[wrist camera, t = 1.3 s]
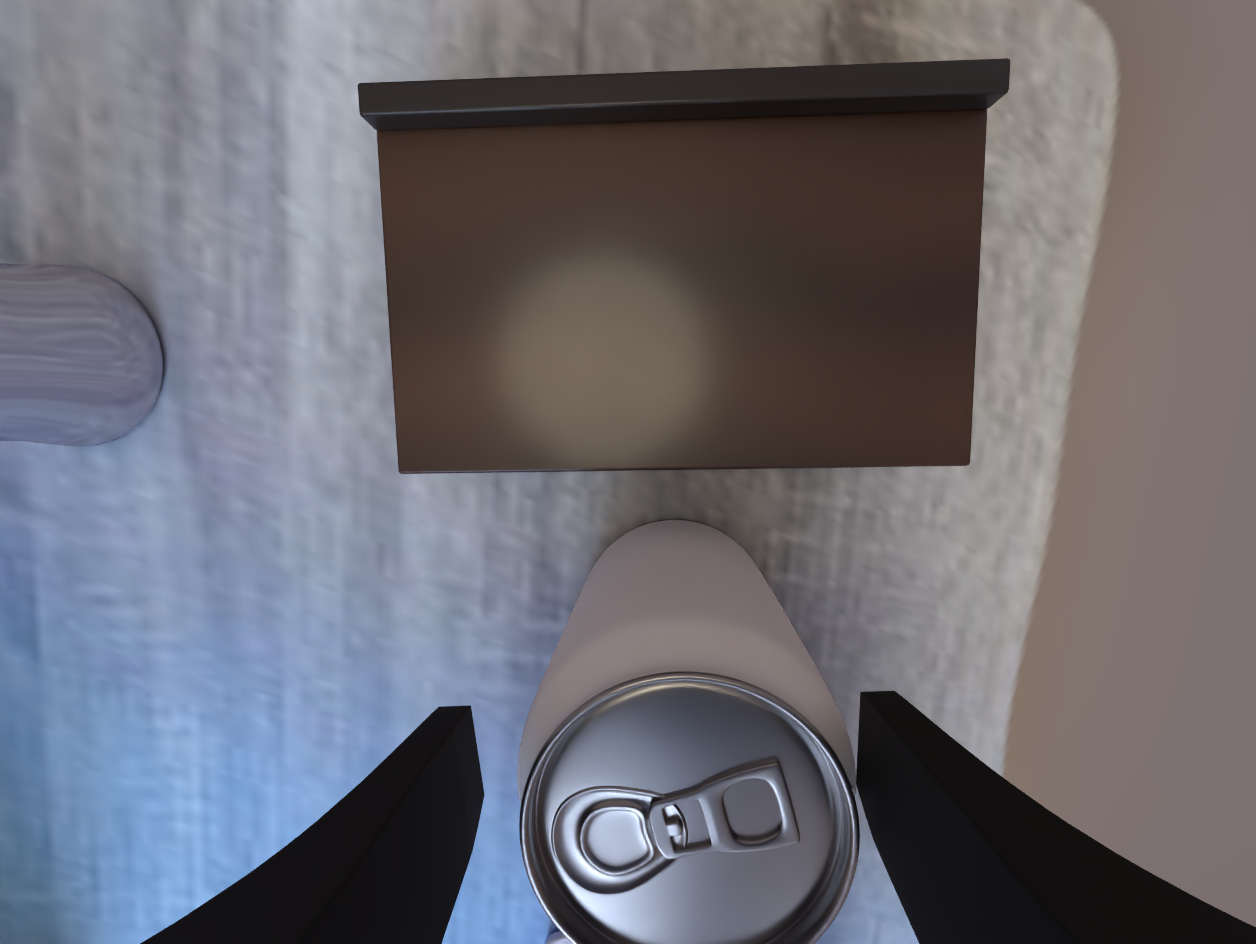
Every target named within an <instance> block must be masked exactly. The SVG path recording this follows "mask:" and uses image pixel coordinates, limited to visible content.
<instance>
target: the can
mask: <svg viewBox="0 0 1256 944" xmlns="http://www.w3.org/2000/svg"><path fill="white" fill-rule="evenodd" d="M517 781H518V793H519V800H520V805H521V809H520V824H519V829H520V844H521V851H522V857H523V861H524V865H525V869H526V872H527V875H528V878H529V881H530V883H531V886H532V888H533V890H534V893H535V895H536V897H537V899H538V900H539V902H540V904H541V906H542V907H543V909H544V911H545V912H546V914H547V915H548V917H549V918H550V919H551V921H552V922H553V923H554V925H555V926H556V927H557V928H558V929H559V930H560V932H561V933H562V934H563V935H564V936H565V937H566V938H567V939H568V940H569V941H570V942H571V943H572V944H814V943H815V942H816V941H817V940H818V939H819V938H820V937H821V936H822V934H823V933H824V932H825V931H826V930H827V928H828V927H829V926H830V925H831V923H832V922H833V920H834V919H835V917H836V916H837V914H838V913H839V911H840V909H841V907H842V905H843V903H844V901H845V899H846V897H847V895H848V893H849V890H850V887H851V885H852V881H853V878H854V875H855V871H856V866H857V861H858V854H859V841H860V831H859V818H858V811H857V806H856V801H855V793H856V772H855V762H854V756H853V751H852V746H851V742H850V739H849V736H848V733H847V730H846V727H845V724H844V721H843V718H842V716H841V714H840V711H839V709H838V707H837V705H836V703H835V701H834V699H833V697H832V695H831V693H830V691H829V689H828V688H827V686H826V684H825V682H824V680H823V678H822V677H821V675H820V673H819V671H818V669H817V668H816V666H815V664H814V662H813V661H812V659H811V657H810V655H809V654H808V652H807V650H806V648H805V647H804V645H803V643H802V641H801V640H800V638H799V636H798V635H797V633H796V631H795V629H794V628H793V626H792V624H791V622H790V621H789V619H788V617H787V616H786V614H785V612H784V610H783V609H782V607H781V605H780V604H779V602H778V600H777V599H776V597H775V595H774V593H773V592H772V590H771V588H770V587H769V585H768V583H767V582H766V580H765V578H764V577H763V575H762V573H761V572H760V570H759V569H758V567H757V566H756V564H755V563H754V561H753V560H752V558H751V557H750V556H749V555H748V554H747V552H746V551H745V550H744V549H743V548H742V547H741V546H740V545H739V544H737V543H736V542H735V541H734V540H733V539H731V538H730V537H728V536H727V535H725V534H724V533H722V532H720V531H718V530H716V529H714V528H712V527H709V526H707V525H704V524H700V523H697V522H692V521H685V520H664V521H657V522H653V523H649V524H645V525H643V526H640V527H637V528H635V529H633V530H631V531H629V532H627V533H626V534H624V535H623V536H621V537H620V538H618V539H617V540H616V541H614V542H613V543H612V544H611V545H610V546H609V547H608V548H607V549H606V550H605V551H604V552H603V554H602V555H601V556H600V557H599V559H598V560H597V562H596V563H595V565H594V566H593V568H592V570H591V572H590V574H589V576H588V578H587V580H586V582H585V584H584V586H583V588H582V591H581V593H580V595H579V597H578V599H577V602H576V604H575V606H574V608H573V610H572V613H571V615H570V617H569V619H568V622H567V624H566V626H565V629H564V631H563V633H562V635H561V638H560V640H559V642H558V644H557V647H556V649H555V651H554V654H553V656H552V658H551V661H550V663H549V665H548V667H547V670H546V672H545V674H544V677H543V679H542V682H541V684H540V686H539V689H538V691H537V694H536V696H535V698H534V701H533V704H532V706H531V709H530V712H529V714H528V717H527V720H526V723H525V727H524V730H523V735H522V739H521V744H520V749H519V756H518V768H517Z"/></svg>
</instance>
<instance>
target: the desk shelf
mask: <svg viewBox="0 0 1256 944" xmlns="http://www.w3.org/2000/svg"><path fill="white" fill-rule="evenodd" d="M1009 76H1010V59H982V60H956V61H929V62H903V63H877V64H851V65H824V66H798V67H772V68H746V69H720V70H693V71H667V72H641V73H615V74H588V75H562V76H536V77H510V78H483V79H457V80H431V81H405V82H378V83H360V84H358V95H359V110H360V115H361V116H362V117H363V118H364V119H365V120H366V121H367V122H368V123H369V124H370V125H371V126H372V127H373V128H374V129H376V130H377V142H378V158H379V173H380V189H381V204H382V220H383V235H384V251H385V266H386V282H387V297H388V313H389V328H390V344H391V359H392V375H393V390H394V406H395V421H396V437H397V452H398V468H399V473H401V474H422V473H492V472H562V471H632V470H702V469H772V468H842V467H912V466H967V465H969V464H970V451H971V431H972V410H973V390H974V369H975V349H976V328H977V308H978V287H979V267H980V246H981V226H982V205H983V185H984V164H985V144H986V123H987V108H989V107H991V106H992V105H993V104H994V103H996V102H997V101H998V100H999V99H1000V98H1001V97H1003V96H1004V95H1005V94H1006V93H1007V92H1008V90H1009Z"/></svg>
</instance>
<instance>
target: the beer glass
mask: <svg viewBox="0 0 1256 944" xmlns="http://www.w3.org/2000/svg"><path fill="white" fill-rule="evenodd" d="M162 375H163V357H162V349H161V345H160V341H159V337H158V334H157V331H156V329H155V327H154V324H153V322H152V320H151V319H150V317H149V315H148V314H147V312H146V310H145V309H144V308H143V306H142V305H141V304H140V302H139V301H138V300H137V299H136V298H135V297H134V296H133V295H132V294H131V293H130V292H129V291H128V290H127V289H125V288H124V287H123V286H121V285H120V284H119V283H117V282H115V281H114V280H112V279H110V278H108V277H106V276H104V275H102V274H100V273H98V272H95V271H92V270H89V269H85V268H81V267H75V266H68V265H46V264H4V263H0V441H25V442H34V443H44V444H54V445H64V446H92V445H99V444H104V443H107V442H110V441H113V440H116V439H118V438H120V437H122V436H124V435H126V434H127V433H129V432H130V431H132V430H133V429H134V428H136V427H137V426H138V425H139V424H140V423H141V422H142V421H143V420H144V419H145V417H146V416H147V415H148V413H149V412H150V410H151V409H152V407H153V405H154V403H155V401H156V399H157V396H158V393H159V390H160V387H161V382H162Z"/></svg>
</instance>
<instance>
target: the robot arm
mask: <svg viewBox="0 0 1256 944" xmlns="http://www.w3.org/2000/svg"><path fill="white" fill-rule="evenodd" d="M856 785H857V789H858V792H859V795H860V799H861V802H862V805H863V808H864V812H865V815H866V818H867V821H868V824H869V827H870V830H871V834H872V837H873V840H874V842H875V844H876V847H877V849H878V851H879V854H880V856H881V858H882V861H883V863H884V865H885V867H886V870H887V872H888V874H889V877H890V879H891V881H892V883H893V886H894V888H895V890H896V892H897V895H898V897H899V899H900V901H901V904H902V906H903V908H904V910H905V912H906V915H907V917H908V919H909V921H910V924H911V926H912V928H913V930H914V933H915V935H916V937H917V939H918V941H919V944H1256V927H1254V926H1252V925H1250V924H1247V923H1245V922H1243V921H1241V920H1239V919H1237V918H1235V917H1233V916H1231V915H1229V914H1227V913H1225V912H1223V911H1221V910H1219V909H1217V908H1215V907H1213V906H1211V905H1209V904H1207V903H1205V902H1203V901H1201V900H1200V899H1198V898H1196V897H1194V896H1192V895H1190V894H1188V893H1186V892H1185V891H1183V890H1181V889H1179V888H1177V887H1175V886H1173V885H1172V884H1170V883H1168V882H1166V881H1164V880H1163V879H1161V878H1159V877H1157V876H1155V875H1153V874H1152V873H1150V872H1148V871H1146V870H1144V869H1143V868H1141V867H1139V866H1137V865H1136V864H1134V863H1132V862H1130V861H1129V860H1127V859H1125V858H1123V857H1122V856H1120V855H1118V854H1116V853H1115V852H1113V851H1112V850H1110V849H1109V848H1107V847H1105V846H1104V845H1102V844H1100V843H1099V842H1097V841H1096V840H1094V839H1092V838H1091V837H1089V836H1088V835H1086V834H1084V833H1083V832H1081V831H1080V830H1078V829H1076V828H1075V827H1073V826H1072V825H1070V824H1068V823H1067V822H1065V821H1064V820H1062V819H1061V818H1059V817H1058V816H1056V815H1055V814H1053V813H1052V812H1050V811H1049V810H1047V809H1046V808H1044V807H1043V806H1042V805H1040V804H1039V803H1038V802H1036V801H1035V800H1033V799H1032V798H1031V797H1029V796H1028V795H1026V794H1025V793H1023V792H1022V791H1020V790H1019V789H1018V788H1016V787H1015V786H1014V785H1012V784H1010V783H1009V782H1008V781H1007V780H1005V779H1004V778H1003V777H1001V776H1000V775H999V774H997V773H996V772H995V771H993V770H992V769H991V768H989V767H988V766H987V765H986V764H984V763H983V762H982V761H980V760H979V759H978V758H977V757H975V756H974V755H973V754H972V753H970V752H969V751H968V750H966V749H965V748H964V747H963V746H961V745H960V744H959V743H958V742H956V741H955V740H954V739H953V738H952V737H950V736H949V735H948V734H947V733H945V732H944V731H943V730H942V729H941V728H939V727H938V726H937V725H936V724H934V723H933V722H932V721H931V720H930V719H928V718H927V717H926V716H925V715H924V714H922V713H921V712H920V711H919V710H918V709H916V708H915V707H914V706H913V705H912V704H910V703H909V702H908V701H907V700H905V699H904V698H903V697H902V696H900V695H899V694H898V693H897V692H895V691H874V692H861V694H860V714H859V734H858V754H857V775H856ZM483 799H484V789H483V783H482V776H481V770H480V763H479V757H478V750H477V743H476V737H475V730H474V724H473V717H472V711H471V706H447V707H438V708H437V709H436V710H435V711H434V712H433V713H432V714H431V715H430V716H429V717H428V718H427V719H426V720H425V721H424V722H423V723H422V724H421V725H420V726H419V727H418V728H417V729H415V730H414V731H413V732H412V733H411V734H410V735H409V736H408V737H407V738H406V739H405V740H404V741H403V742H402V743H401V744H400V745H399V746H398V747H397V748H396V749H395V750H394V751H393V752H392V753H391V754H390V755H389V756H388V757H387V758H386V759H385V760H384V761H383V762H382V763H381V764H380V765H379V766H378V767H376V768H375V769H374V770H373V771H372V772H371V773H370V774H369V775H368V776H367V777H366V778H365V779H364V780H363V781H362V782H361V783H360V784H358V785H357V786H356V787H355V788H354V789H353V790H352V791H350V792H349V793H348V794H347V795H346V796H345V797H344V798H343V799H341V800H340V801H339V802H338V803H337V804H336V805H335V806H333V807H332V808H331V809H330V810H329V811H328V812H327V813H325V814H324V815H323V816H322V817H321V818H320V819H319V820H317V821H316V822H315V823H314V824H313V825H312V826H310V827H309V828H308V829H307V830H305V831H304V832H303V833H302V834H301V835H299V836H298V837H297V838H295V839H294V840H293V841H292V842H290V843H289V844H288V845H287V846H285V847H284V848H283V849H281V850H280V851H279V852H277V853H276V854H275V855H273V856H272V857H271V858H269V859H268V860H267V861H265V862H264V863H263V864H261V865H260V866H259V867H257V868H256V869H255V870H253V871H252V872H250V873H249V874H248V875H246V876H245V877H243V878H242V879H240V880H239V881H237V882H236V883H234V884H233V885H231V886H230V887H228V888H227V889H225V890H224V891H222V892H221V893H219V894H218V895H216V896H215V897H213V898H212V899H210V900H209V901H207V902H206V903H204V904H203V905H201V906H200V907H198V908H197V909H195V910H194V911H192V912H191V913H189V914H188V915H186V916H185V917H183V918H182V919H180V920H179V921H177V922H175V923H174V924H172V925H170V926H169V927H167V928H165V929H164V930H162V931H161V932H159V933H157V934H156V935H154V936H152V937H151V938H149V939H147V940H146V941H144V942H142V943H141V944H441V943H442V940H443V937H444V934H445V931H446V928H447V925H448V922H449V920H450V917H451V914H452V911H453V908H454V905H455V902H456V899H457V896H458V893H459V890H460V887H461V884H462V881H463V878H464V875H465V872H466V869H467V866H468V863H469V860H470V857H471V854H472V850H473V846H474V842H475V837H476V833H477V828H478V824H479V819H480V814H481V809H482V804H483ZM545 944H572V943H571V942H570V941H569V940H568V939H567V938H566V937H565V936H564V935H563V934H562V933H561V932H560V931H558V932H555V933H553V934H551V935H549V936H548V937H547V939H546V941H545Z"/></svg>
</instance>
